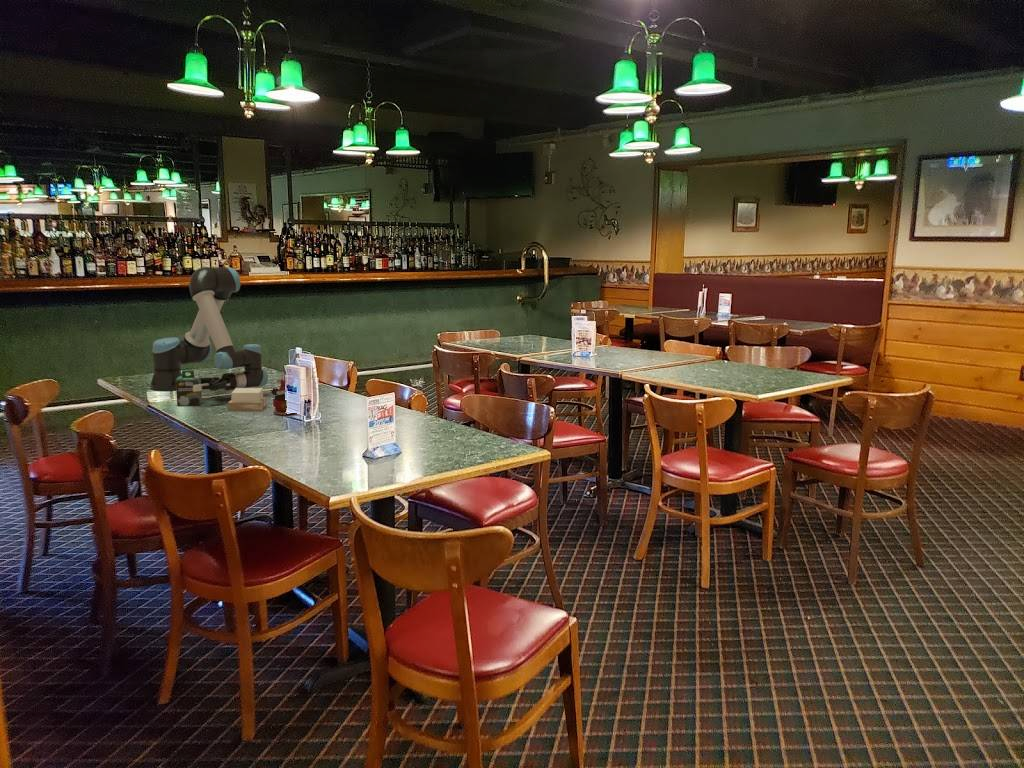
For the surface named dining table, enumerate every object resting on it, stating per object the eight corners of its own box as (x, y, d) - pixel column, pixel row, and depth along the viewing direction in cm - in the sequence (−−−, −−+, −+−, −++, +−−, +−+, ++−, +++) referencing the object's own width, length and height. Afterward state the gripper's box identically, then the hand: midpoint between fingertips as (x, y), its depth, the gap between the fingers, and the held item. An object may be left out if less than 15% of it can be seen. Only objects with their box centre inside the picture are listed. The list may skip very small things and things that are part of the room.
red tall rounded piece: (298, 410, 311) (297, 368, 308) (299, 415, 303) (299, 372, 300) (271, 411, 308) (270, 368, 305) (272, 416, 299) (271, 372, 296)
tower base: (235, 405, 319) (234, 396, 318) (266, 406, 321) (266, 396, 320) (228, 412, 306) (227, 402, 305) (260, 412, 308) (260, 402, 307)
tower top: (236, 397, 317) (236, 387, 317) (263, 397, 319) (262, 388, 319) (231, 402, 307) (231, 392, 306) (259, 402, 309) (259, 392, 308)
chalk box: (202, 401, 323) (200, 368, 320) (200, 405, 314) (198, 371, 312) (179, 402, 320) (177, 368, 317) (176, 406, 311) (174, 371, 309)
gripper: (247, 393, 322) (200, 399, 307) (220, 385, 339) (173, 390, 323) (247, 376, 321) (199, 381, 306) (219, 369, 337) (172, 373, 322)
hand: (185, 386), depth 314 cm, fingers open, 13 cm apart
